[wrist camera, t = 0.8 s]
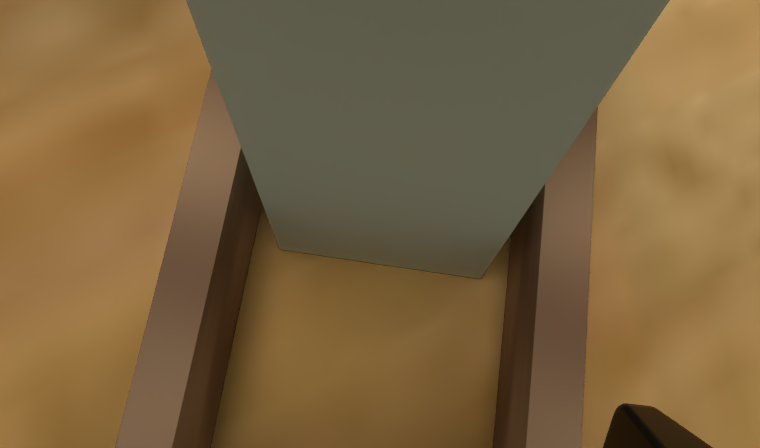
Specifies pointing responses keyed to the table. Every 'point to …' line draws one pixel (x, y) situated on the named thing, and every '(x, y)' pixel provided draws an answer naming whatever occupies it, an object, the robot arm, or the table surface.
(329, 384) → the table surface
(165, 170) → the table surface
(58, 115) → the table surface
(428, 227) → the block
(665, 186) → the table surface
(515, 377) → the brown rectangular frame
